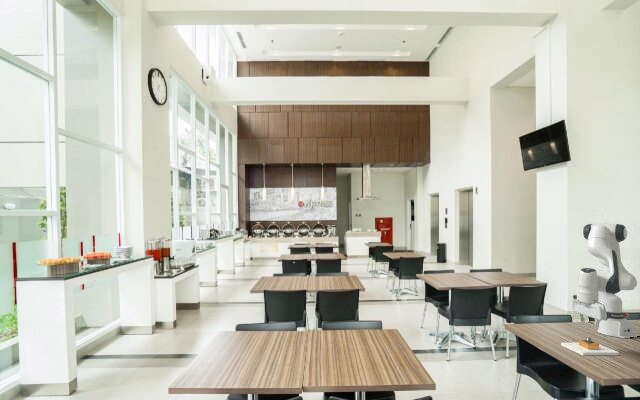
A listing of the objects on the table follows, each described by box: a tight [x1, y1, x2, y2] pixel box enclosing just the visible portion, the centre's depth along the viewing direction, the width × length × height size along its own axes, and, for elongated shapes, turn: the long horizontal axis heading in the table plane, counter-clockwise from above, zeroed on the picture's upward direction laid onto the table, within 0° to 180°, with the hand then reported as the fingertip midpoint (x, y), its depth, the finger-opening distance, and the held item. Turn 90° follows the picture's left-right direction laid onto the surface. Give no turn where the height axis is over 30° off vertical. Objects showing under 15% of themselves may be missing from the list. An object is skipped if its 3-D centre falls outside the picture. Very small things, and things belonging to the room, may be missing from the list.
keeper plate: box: [560, 337, 620, 357], centre depth 208 cm, size 20×16×6 cm
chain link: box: [578, 339, 600, 349], centre depth 208 cm, size 6×6×3 cm
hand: (589, 324), depth 208 cm, fingers open, 8 cm apart
